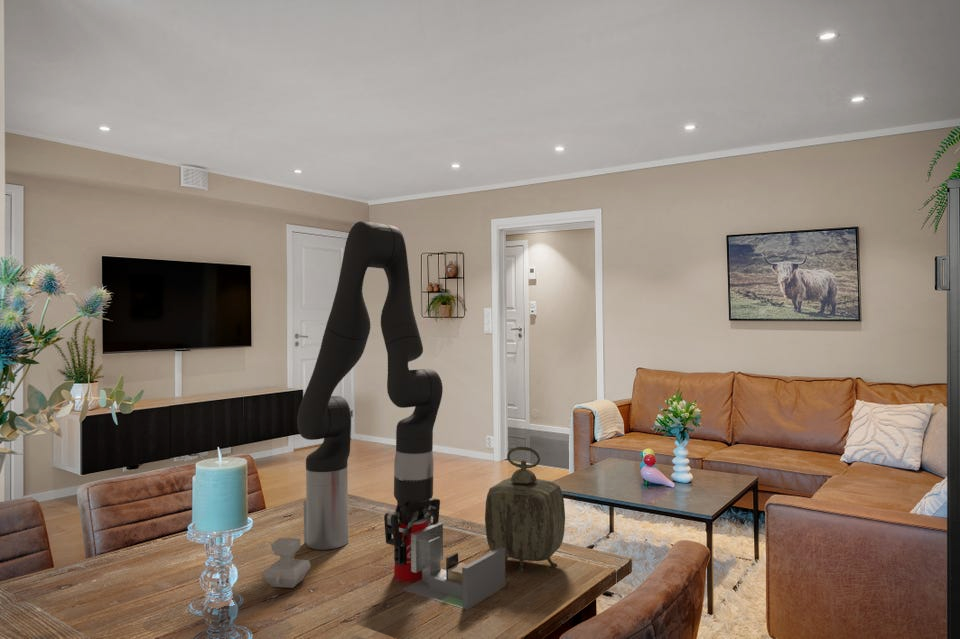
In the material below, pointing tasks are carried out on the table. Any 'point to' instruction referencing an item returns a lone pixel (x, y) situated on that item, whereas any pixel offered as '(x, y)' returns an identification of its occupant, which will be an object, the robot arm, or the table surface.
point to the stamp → (286, 564)
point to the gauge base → (467, 582)
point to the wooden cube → (456, 573)
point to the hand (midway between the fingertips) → (412, 558)
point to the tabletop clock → (525, 515)
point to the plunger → (430, 553)
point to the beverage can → (409, 555)
